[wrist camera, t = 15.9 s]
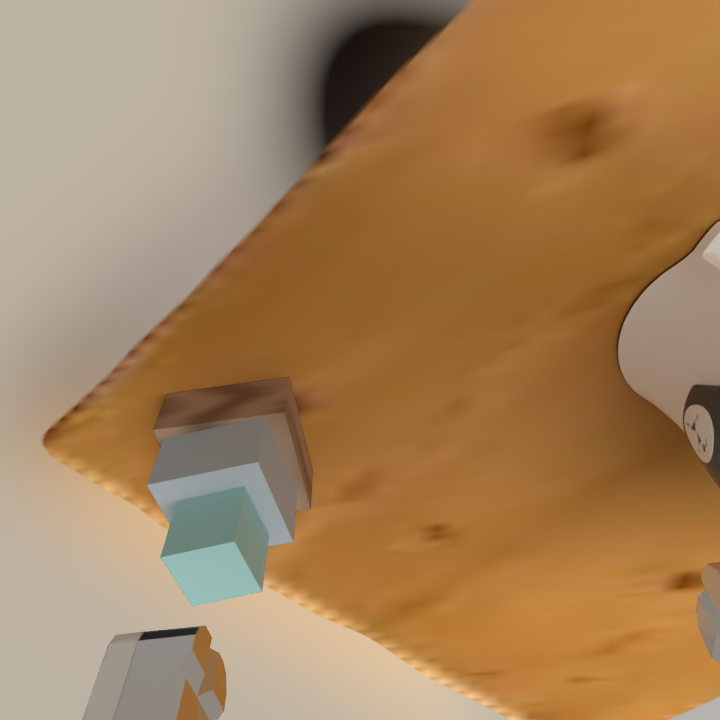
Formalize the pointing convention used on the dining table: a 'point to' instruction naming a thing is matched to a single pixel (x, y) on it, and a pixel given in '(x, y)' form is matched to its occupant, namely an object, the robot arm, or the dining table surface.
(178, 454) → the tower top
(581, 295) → the dining table surface
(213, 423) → the tower base
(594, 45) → the dining table surface
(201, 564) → the teal block
